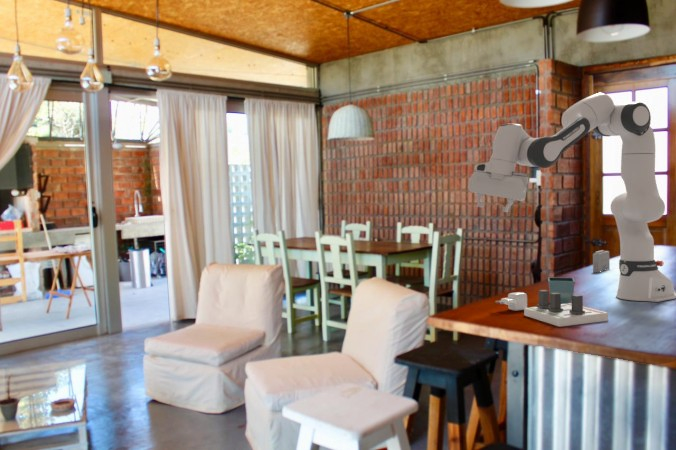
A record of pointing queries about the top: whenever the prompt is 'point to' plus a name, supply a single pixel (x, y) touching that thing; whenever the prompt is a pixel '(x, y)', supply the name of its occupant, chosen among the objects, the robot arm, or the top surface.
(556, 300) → the middle handle
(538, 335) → the top surface
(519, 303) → the power adapter
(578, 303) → the handle
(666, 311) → the top surface
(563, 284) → the flower pot
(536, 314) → the panel
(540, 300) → the far handle
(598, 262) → the cassette player
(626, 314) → the top surface
